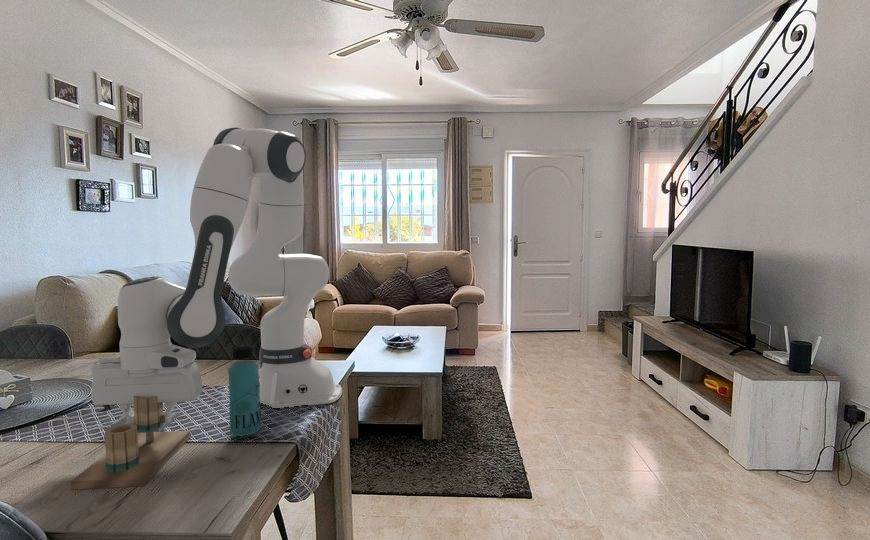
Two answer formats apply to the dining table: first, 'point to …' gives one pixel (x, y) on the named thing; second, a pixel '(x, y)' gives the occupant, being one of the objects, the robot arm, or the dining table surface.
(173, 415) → the tray
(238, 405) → the beverage bottle
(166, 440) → the pin board
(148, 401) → the sleeve
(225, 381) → the dining table surface
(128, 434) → the seated sleeve
